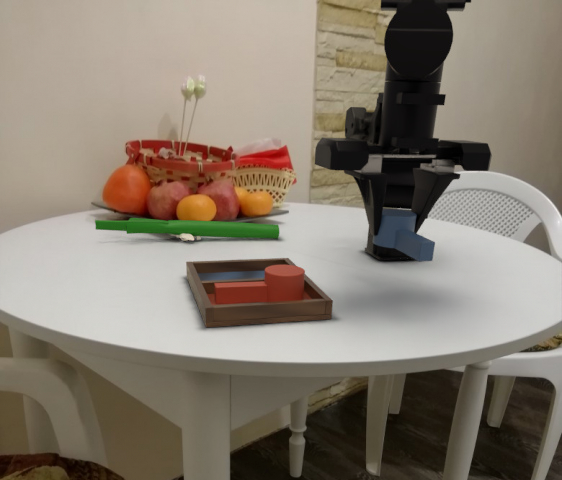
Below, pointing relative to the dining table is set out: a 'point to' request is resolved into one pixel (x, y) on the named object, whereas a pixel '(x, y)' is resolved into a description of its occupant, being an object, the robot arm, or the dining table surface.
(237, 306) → the sorting tray
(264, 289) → the red cylinder-ended block
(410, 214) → the blue cylinder with handle
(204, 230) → the green stepped bar
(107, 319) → the dining table surface
